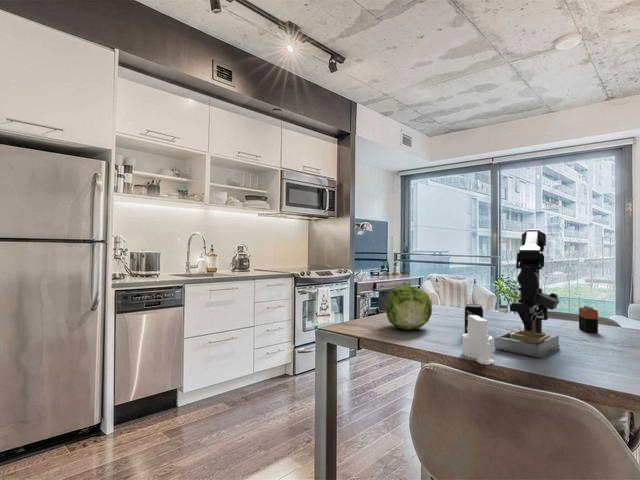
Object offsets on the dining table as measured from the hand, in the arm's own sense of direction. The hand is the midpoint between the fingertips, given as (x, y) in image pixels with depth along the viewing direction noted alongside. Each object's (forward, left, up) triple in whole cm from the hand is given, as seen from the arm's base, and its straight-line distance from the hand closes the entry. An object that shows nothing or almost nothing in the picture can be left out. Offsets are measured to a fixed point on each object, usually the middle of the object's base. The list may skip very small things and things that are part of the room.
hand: (529, 330), depth 130 cm
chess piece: (+27, -3, -6) cm, 28 cm away
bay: (+2, 0, -6) cm, 6 cm away
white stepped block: (+22, -8, -6) cm, 24 cm away
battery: (-43, +7, -6) cm, 44 cm away
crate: (0, 0, -5) cm, 5 cm away
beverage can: (0, -20, -6) cm, 21 cm away
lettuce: (+9, -43, -6) cm, 44 cm away
